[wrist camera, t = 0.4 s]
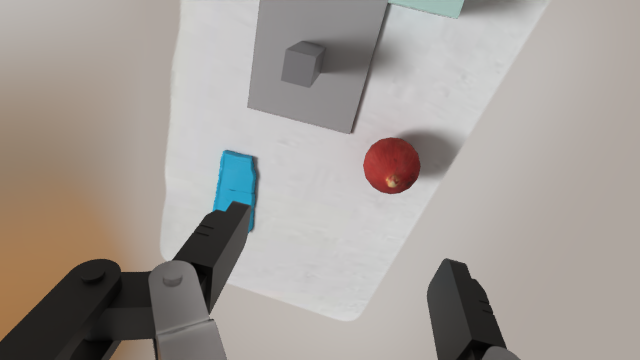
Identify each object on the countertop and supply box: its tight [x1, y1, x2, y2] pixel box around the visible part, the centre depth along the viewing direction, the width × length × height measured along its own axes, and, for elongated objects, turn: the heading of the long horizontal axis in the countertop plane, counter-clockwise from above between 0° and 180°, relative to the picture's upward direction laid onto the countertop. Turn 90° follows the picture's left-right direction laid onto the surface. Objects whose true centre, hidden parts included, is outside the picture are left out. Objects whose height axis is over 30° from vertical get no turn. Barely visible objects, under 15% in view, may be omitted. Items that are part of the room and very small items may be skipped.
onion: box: [363, 138, 421, 194], centre depth 35 cm, size 6×6×8 cm
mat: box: [247, 0, 388, 134], centre depth 34 cm, size 14×12×1 cm
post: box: [281, 41, 326, 88], centre depth 31 cm, size 3×3×7 cm
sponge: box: [213, 150, 256, 233], centre depth 43 cm, size 2×12×6 cm
